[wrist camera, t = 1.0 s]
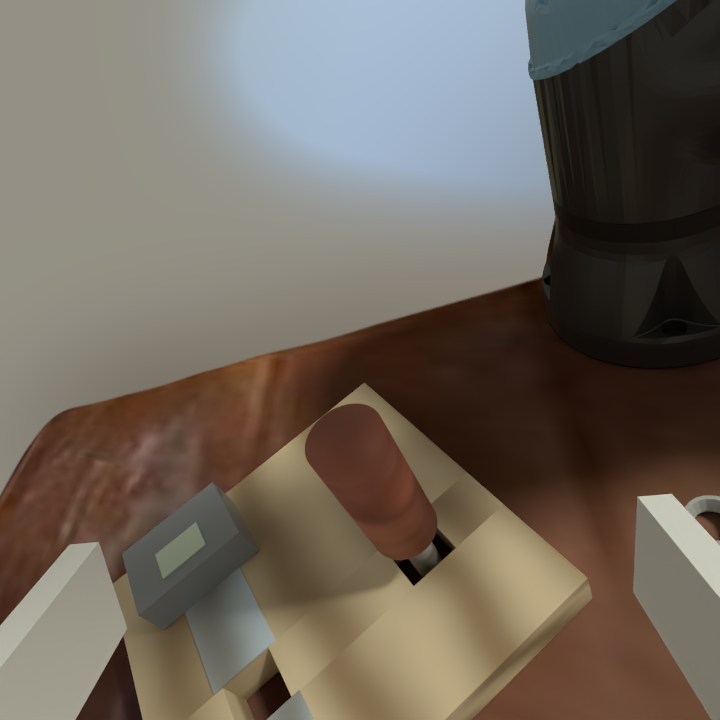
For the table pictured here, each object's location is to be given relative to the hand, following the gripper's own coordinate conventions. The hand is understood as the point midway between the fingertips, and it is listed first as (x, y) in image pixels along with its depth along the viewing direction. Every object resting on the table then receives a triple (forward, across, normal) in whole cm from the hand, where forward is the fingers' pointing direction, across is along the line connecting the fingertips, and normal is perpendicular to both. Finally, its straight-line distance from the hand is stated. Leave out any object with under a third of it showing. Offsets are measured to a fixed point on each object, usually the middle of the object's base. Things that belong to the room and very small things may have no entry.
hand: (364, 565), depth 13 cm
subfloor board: (+15, -4, -14) cm, 21 cm away
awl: (+15, +2, -12) cm, 19 cm away
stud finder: (+17, -13, -13) cm, 25 cm away
